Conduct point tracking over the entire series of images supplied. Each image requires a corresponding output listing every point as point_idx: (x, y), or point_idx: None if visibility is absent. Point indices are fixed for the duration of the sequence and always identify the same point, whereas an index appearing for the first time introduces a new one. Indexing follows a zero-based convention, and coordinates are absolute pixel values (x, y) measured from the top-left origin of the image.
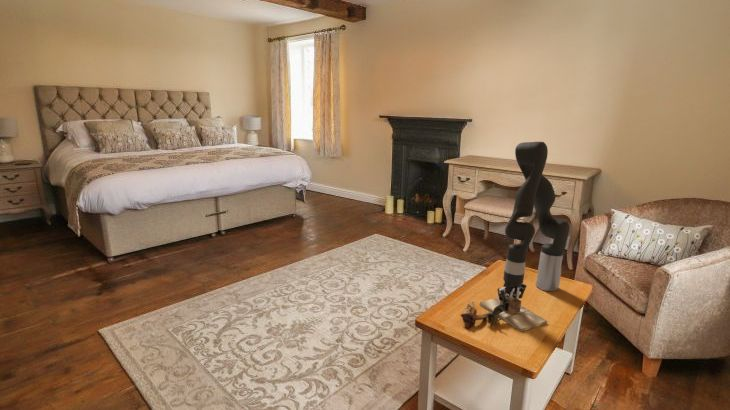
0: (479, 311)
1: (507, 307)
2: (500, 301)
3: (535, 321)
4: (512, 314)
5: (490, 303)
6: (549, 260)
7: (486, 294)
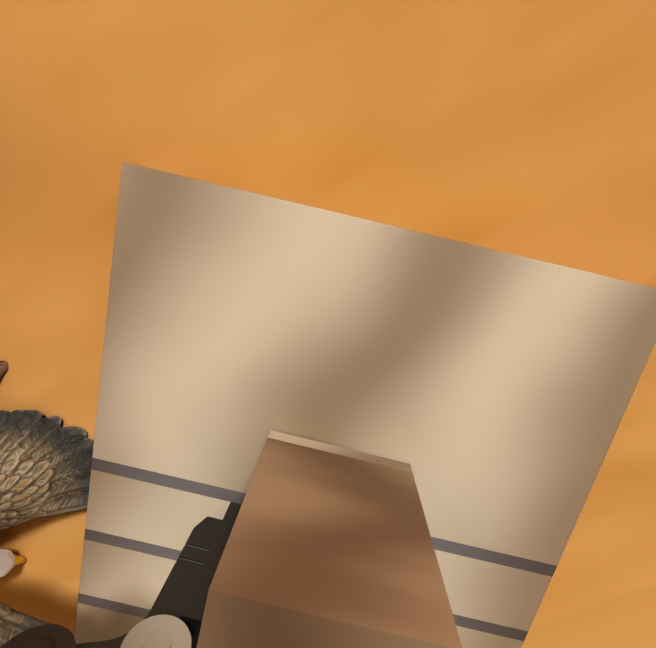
0: (4, 283)
1: None
2: (251, 488)
3: None
4: None
5: (237, 296)
6: None
7: (560, 4)
